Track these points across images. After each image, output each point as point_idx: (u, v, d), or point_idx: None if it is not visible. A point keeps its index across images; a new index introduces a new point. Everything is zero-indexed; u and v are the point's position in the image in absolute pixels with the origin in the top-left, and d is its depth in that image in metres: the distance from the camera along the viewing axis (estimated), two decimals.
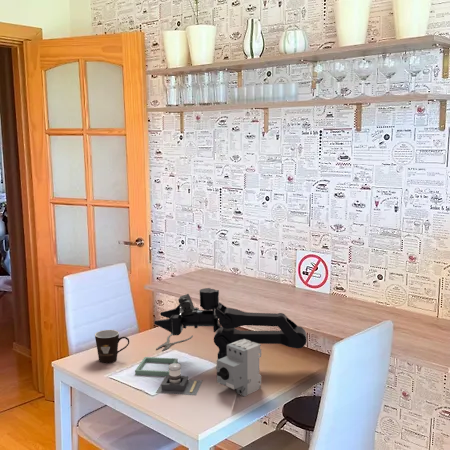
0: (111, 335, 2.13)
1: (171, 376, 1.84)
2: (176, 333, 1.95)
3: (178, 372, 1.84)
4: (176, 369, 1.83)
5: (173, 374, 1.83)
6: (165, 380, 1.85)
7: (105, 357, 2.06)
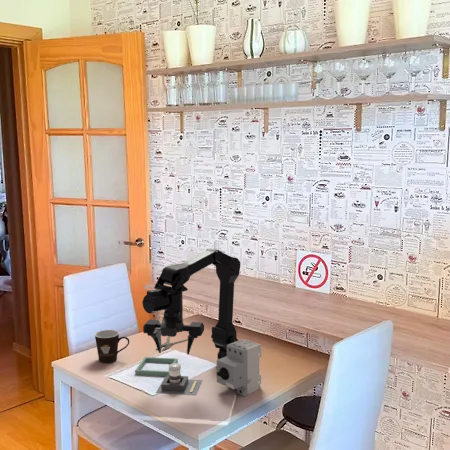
0: (111, 335, 2.13)
1: (171, 376, 1.84)
2: (203, 326, 1.84)
3: (178, 372, 1.84)
4: (176, 369, 1.83)
5: (173, 374, 1.83)
6: (165, 380, 1.85)
7: (105, 357, 2.06)
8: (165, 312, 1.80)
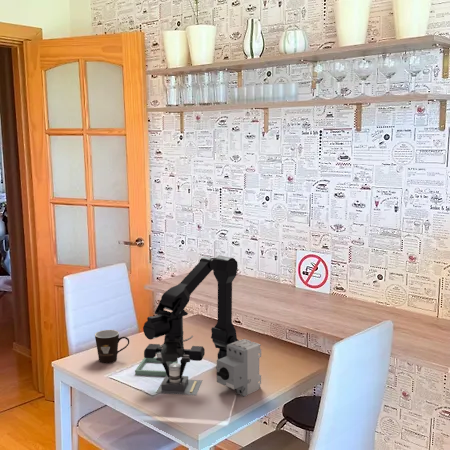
0: (111, 335, 2.13)
1: (171, 376, 1.84)
2: (204, 350, 1.85)
3: (178, 372, 1.84)
4: (176, 369, 1.83)
5: (173, 374, 1.83)
6: (165, 380, 1.85)
7: (105, 357, 2.06)
8: (166, 337, 1.81)
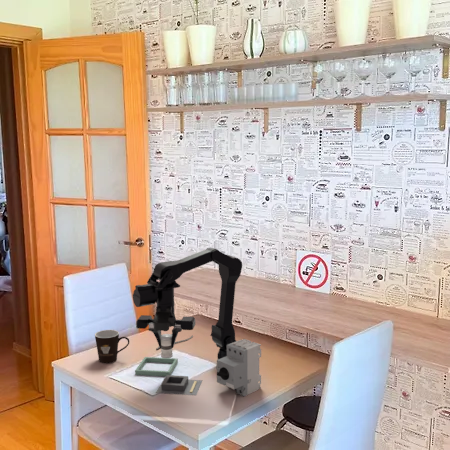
0: (111, 335, 2.13)
1: (163, 346, 1.88)
2: None
3: (170, 342, 1.88)
4: (168, 339, 1.88)
5: (165, 344, 1.88)
6: (165, 380, 1.85)
7: (105, 357, 2.06)
8: (157, 307, 1.85)
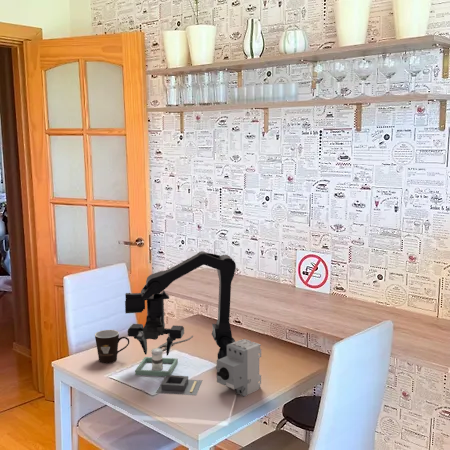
0: (111, 335, 2.13)
1: (153, 360, 1.98)
2: (183, 329, 1.99)
3: (160, 356, 1.98)
4: (158, 354, 1.97)
5: (155, 358, 1.97)
6: (165, 380, 1.85)
7: (105, 357, 2.06)
8: (147, 317, 1.94)
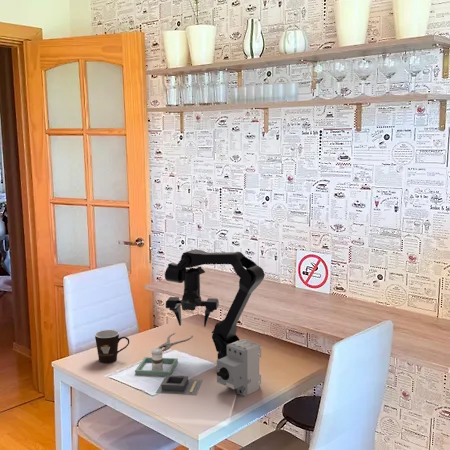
0: (111, 335, 2.13)
1: (153, 360, 1.98)
2: (218, 302, 2.10)
3: (160, 356, 1.98)
4: (158, 353, 1.97)
5: (155, 358, 1.97)
6: (165, 380, 1.85)
7: (105, 357, 2.06)
8: (185, 289, 2.06)
